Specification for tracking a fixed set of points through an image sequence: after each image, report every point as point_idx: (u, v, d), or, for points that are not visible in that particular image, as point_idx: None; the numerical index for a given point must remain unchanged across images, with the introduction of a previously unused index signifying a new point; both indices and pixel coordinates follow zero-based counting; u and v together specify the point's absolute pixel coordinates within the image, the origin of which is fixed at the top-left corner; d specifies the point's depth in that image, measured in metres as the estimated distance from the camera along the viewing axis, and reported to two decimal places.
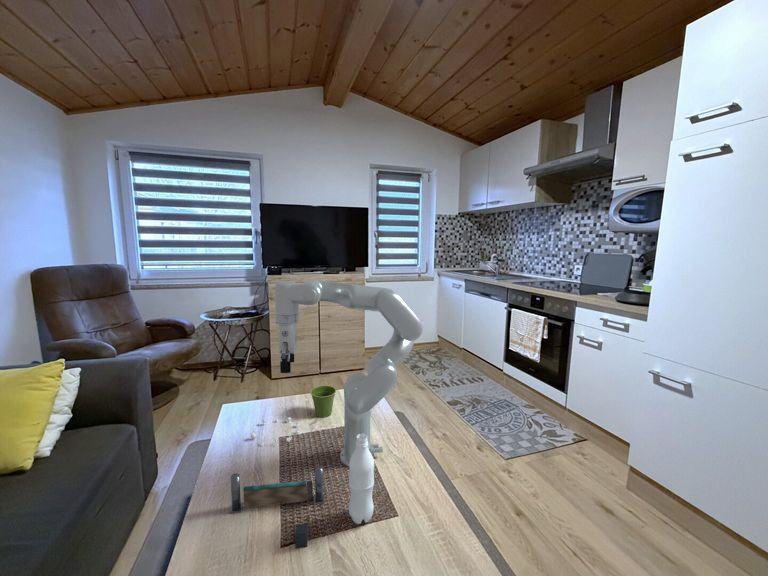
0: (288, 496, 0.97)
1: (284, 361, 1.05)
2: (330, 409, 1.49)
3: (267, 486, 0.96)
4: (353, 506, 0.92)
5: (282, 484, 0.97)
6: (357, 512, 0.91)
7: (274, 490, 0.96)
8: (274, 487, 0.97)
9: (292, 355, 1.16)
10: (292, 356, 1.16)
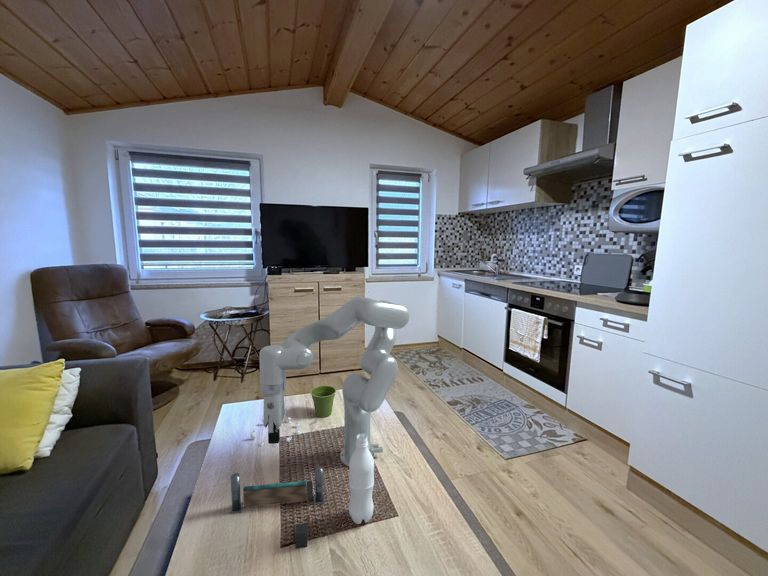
0: (288, 496, 0.97)
1: None
2: (330, 409, 1.49)
3: (267, 486, 0.96)
4: (353, 506, 0.92)
5: (282, 484, 0.97)
6: (357, 512, 0.91)
7: (274, 490, 0.96)
8: (274, 487, 0.97)
9: None
10: None
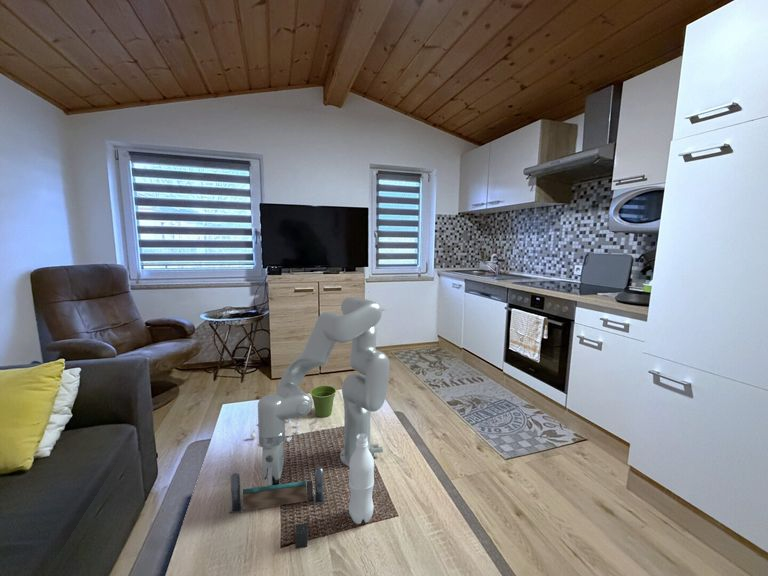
0: (288, 497, 0.97)
1: None
2: (330, 409, 1.49)
3: (267, 488, 0.96)
4: (353, 506, 0.92)
5: (282, 485, 0.97)
6: (357, 512, 0.91)
7: (273, 491, 0.96)
8: (274, 488, 0.96)
9: None
10: (277, 484, 1.00)
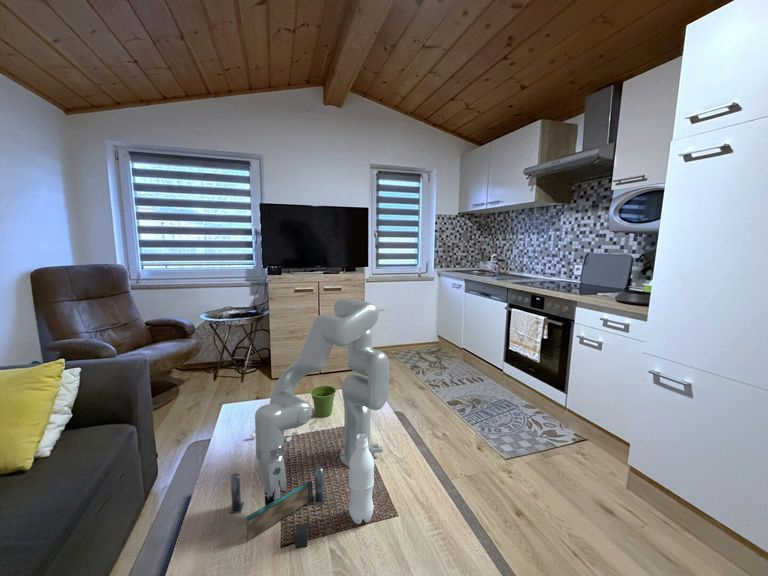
0: (292, 505, 0.94)
1: None
2: (330, 409, 1.49)
3: (272, 504, 0.90)
4: (353, 506, 0.92)
5: (286, 495, 0.93)
6: (357, 512, 0.91)
7: (279, 504, 0.91)
8: (279, 502, 0.91)
9: None
10: None
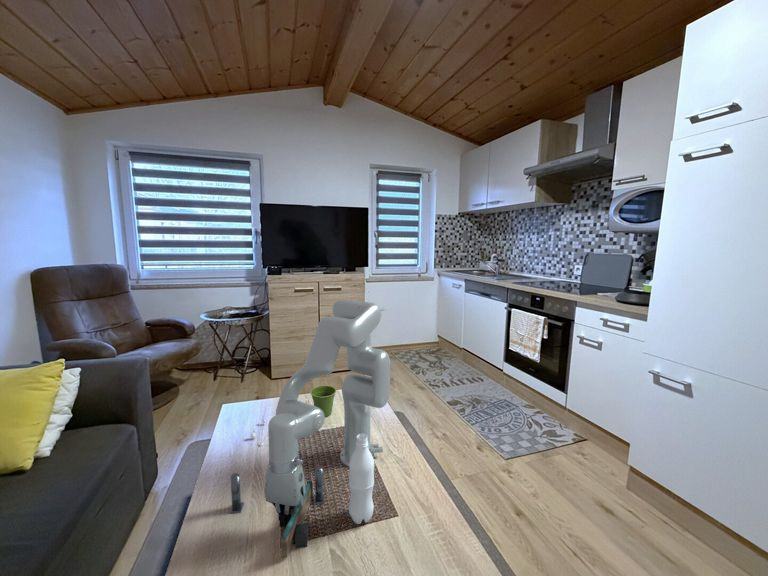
0: (305, 508, 0.93)
1: None
2: (330, 409, 1.49)
3: (295, 514, 0.87)
4: (353, 506, 0.92)
5: None
6: (357, 512, 0.91)
7: (299, 512, 0.89)
8: (299, 509, 0.89)
9: None
10: None
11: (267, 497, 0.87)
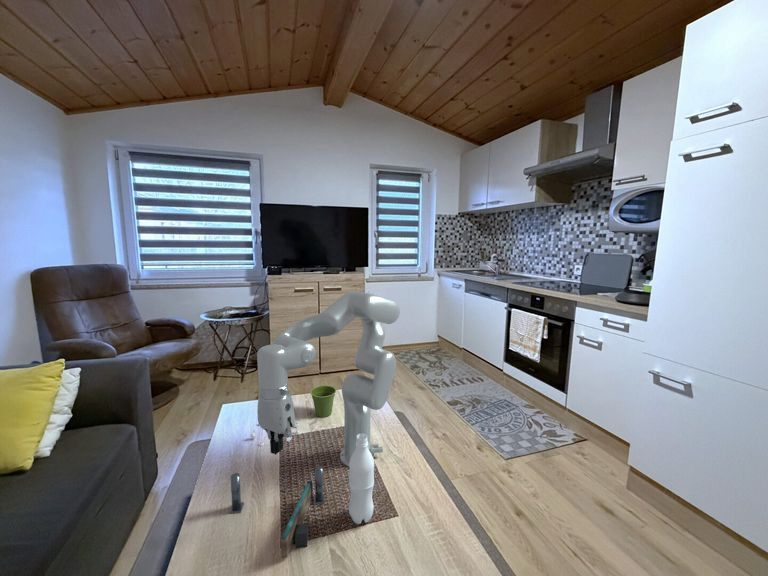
0: (305, 508, 0.93)
1: None
2: (330, 409, 1.49)
3: (295, 514, 0.87)
4: (353, 506, 0.92)
5: (301, 501, 0.91)
6: (357, 512, 0.91)
7: (299, 512, 0.89)
8: (299, 509, 0.89)
9: None
10: None
11: (259, 422, 0.90)
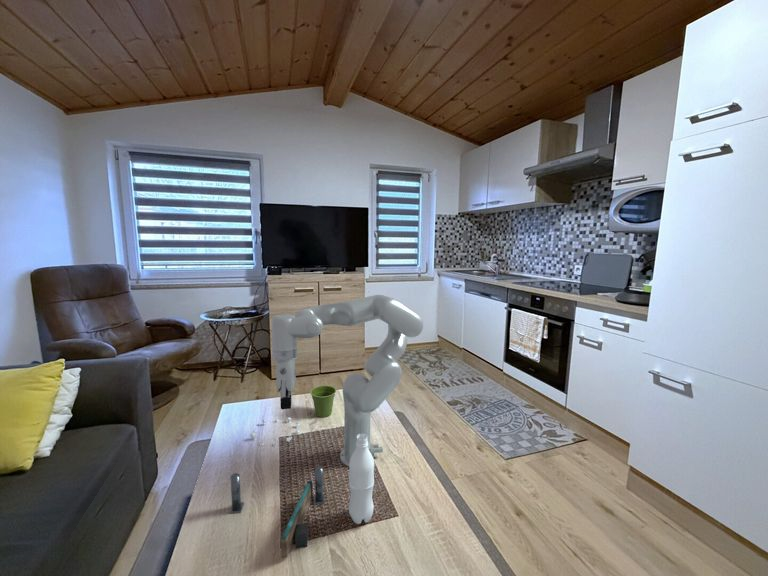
0: (305, 508, 0.93)
1: None
2: (330, 409, 1.49)
3: (295, 514, 0.87)
4: (353, 506, 0.92)
5: (301, 501, 0.91)
6: (357, 512, 0.91)
7: (299, 512, 0.89)
8: (299, 509, 0.89)
9: None
10: None
11: None
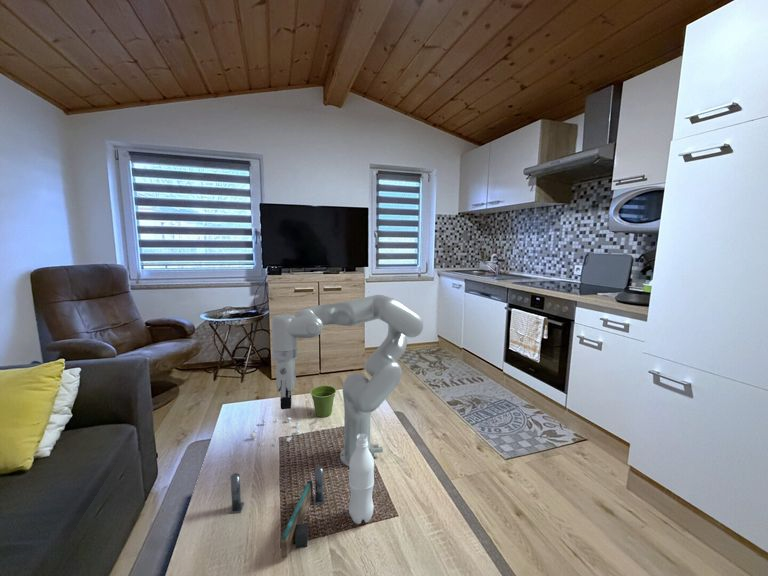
0: (305, 508, 0.93)
1: None
2: (330, 409, 1.49)
3: (295, 514, 0.87)
4: (353, 506, 0.92)
5: (301, 501, 0.91)
6: (357, 512, 0.91)
7: (299, 512, 0.89)
8: (299, 509, 0.89)
9: None
10: None
11: None
